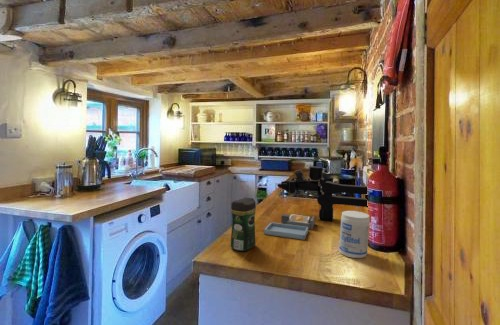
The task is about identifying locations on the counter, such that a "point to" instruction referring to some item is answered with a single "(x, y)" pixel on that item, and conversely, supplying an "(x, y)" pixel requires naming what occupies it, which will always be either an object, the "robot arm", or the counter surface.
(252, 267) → the counter surface
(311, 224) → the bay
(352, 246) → the supplement tub
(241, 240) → the coffee jar
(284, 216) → the white open-front box
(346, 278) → the counter surface
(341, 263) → the counter surface
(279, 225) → the tray
